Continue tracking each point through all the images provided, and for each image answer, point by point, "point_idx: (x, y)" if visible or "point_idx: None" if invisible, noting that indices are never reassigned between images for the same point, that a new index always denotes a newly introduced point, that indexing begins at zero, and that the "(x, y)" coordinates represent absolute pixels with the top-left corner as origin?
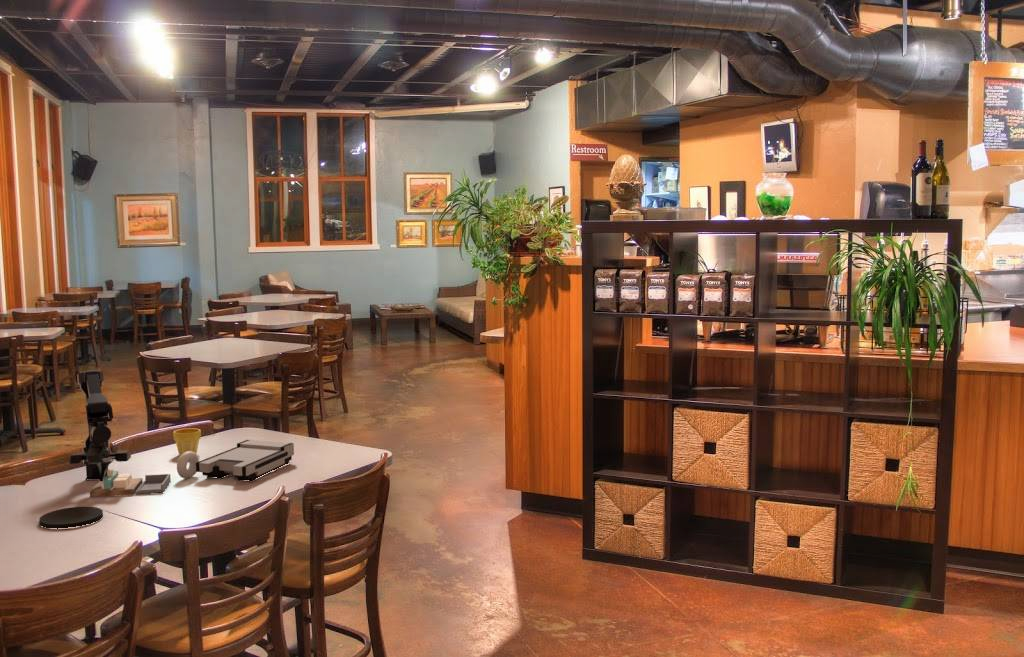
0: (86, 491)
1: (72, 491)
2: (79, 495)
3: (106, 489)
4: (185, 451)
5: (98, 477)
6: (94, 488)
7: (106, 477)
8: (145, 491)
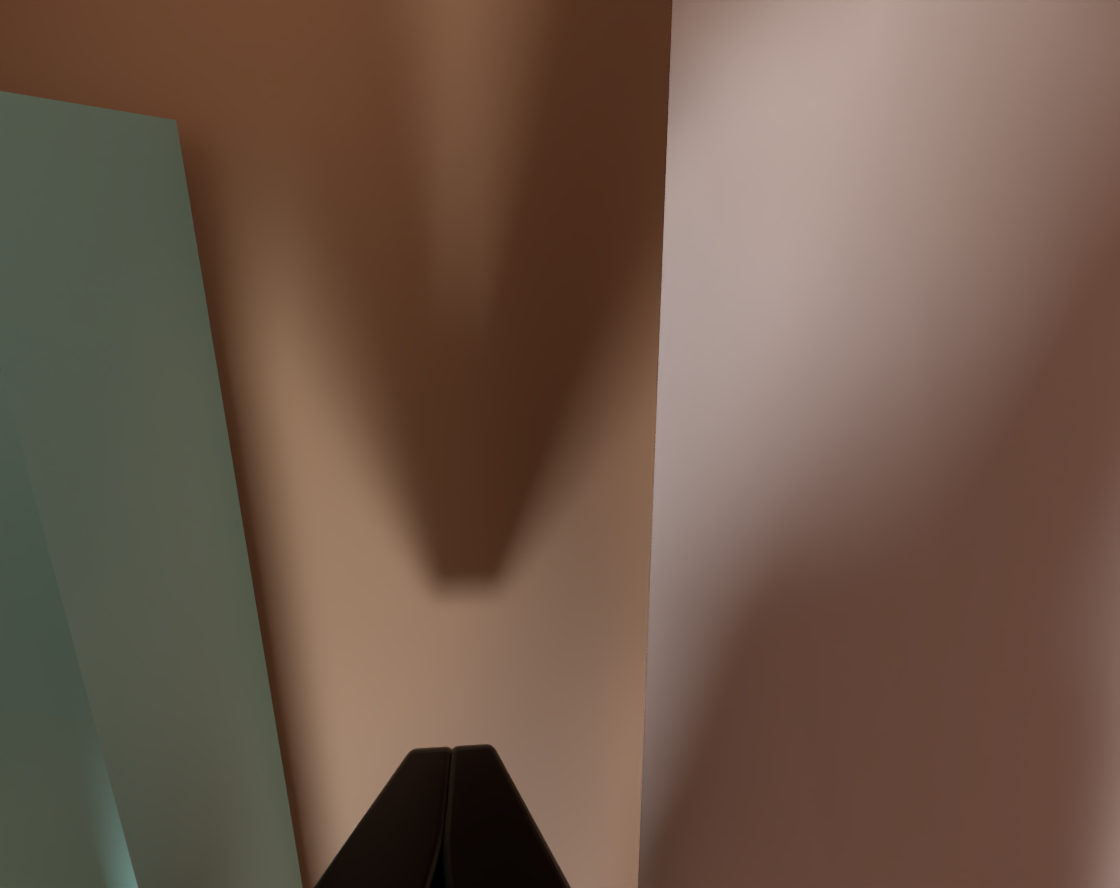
0: (821, 608)
1: (1104, 644)
2: (938, 298)
3: None
4: None
5: (544, 841)
6: (594, 378)
7: (74, 732)
8: None
